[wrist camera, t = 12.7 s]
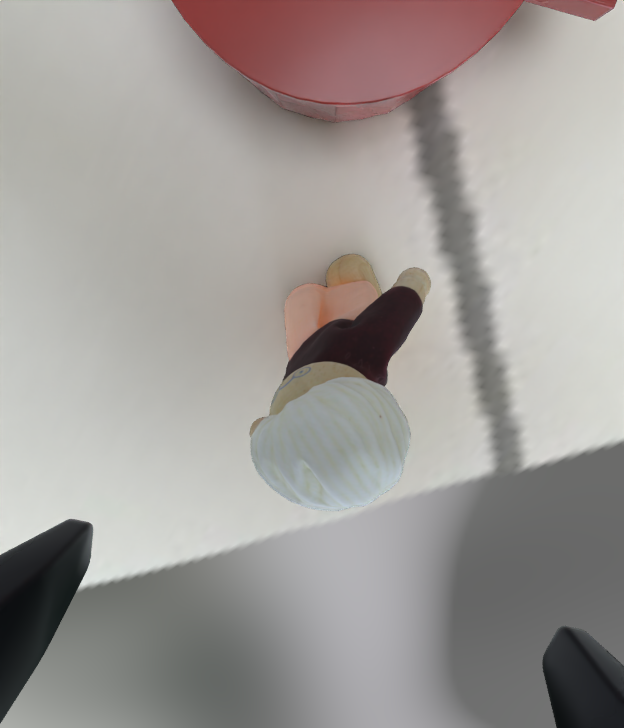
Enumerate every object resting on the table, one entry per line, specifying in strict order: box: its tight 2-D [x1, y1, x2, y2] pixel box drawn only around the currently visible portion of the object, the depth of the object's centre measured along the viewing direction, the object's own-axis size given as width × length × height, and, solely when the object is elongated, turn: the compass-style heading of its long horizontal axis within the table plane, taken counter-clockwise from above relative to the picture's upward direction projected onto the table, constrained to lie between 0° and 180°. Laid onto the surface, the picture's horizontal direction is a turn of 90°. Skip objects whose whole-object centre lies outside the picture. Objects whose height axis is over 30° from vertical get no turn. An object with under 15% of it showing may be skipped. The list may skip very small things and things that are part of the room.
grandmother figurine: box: [250, 254, 431, 511], centre depth 14 cm, size 8×4×13 cm, turn 149°
